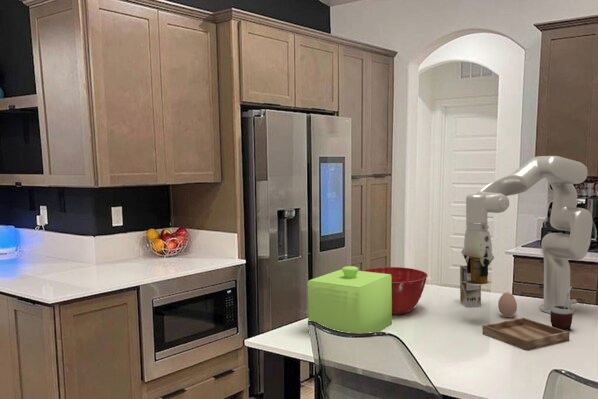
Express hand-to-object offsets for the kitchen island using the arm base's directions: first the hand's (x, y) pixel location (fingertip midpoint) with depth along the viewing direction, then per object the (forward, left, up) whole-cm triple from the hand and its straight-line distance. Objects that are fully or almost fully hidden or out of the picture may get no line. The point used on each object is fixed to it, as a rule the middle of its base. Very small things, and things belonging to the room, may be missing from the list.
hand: (477, 274), depth 194 cm
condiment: (0, 0, -3) cm, 3 cm away
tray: (-2, +20, -19) cm, 27 cm away
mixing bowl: (+17, -30, -19) cm, 39 cm away
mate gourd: (-21, +20, -19) cm, 34 cm away
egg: (-16, 0, -19) cm, 25 cm away
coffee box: (-17, -21, -19) cm, 33 cm away
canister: (+45, -17, -19) cm, 52 cm away
